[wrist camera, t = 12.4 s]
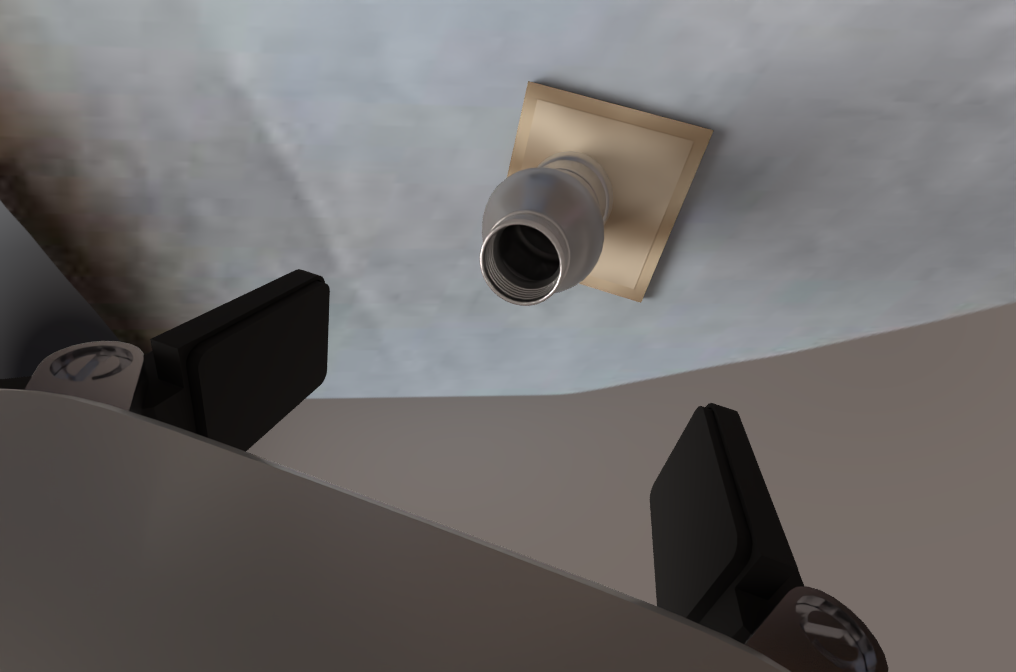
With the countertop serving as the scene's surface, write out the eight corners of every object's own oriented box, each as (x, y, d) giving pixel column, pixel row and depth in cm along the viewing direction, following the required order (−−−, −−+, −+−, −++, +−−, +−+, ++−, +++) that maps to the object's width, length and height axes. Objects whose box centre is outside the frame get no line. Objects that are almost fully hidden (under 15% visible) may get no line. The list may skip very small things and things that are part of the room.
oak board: (531, 82, 34) (528, 81, 33) (710, 130, 33) (713, 130, 32) (493, 252, 41) (489, 255, 40) (640, 297, 39) (640, 303, 38)
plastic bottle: (560, 248, 38) (503, 360, 20) (517, 178, 36) (416, 235, 19) (629, 208, 35) (631, 297, 18) (587, 130, 33) (543, 144, 16)
